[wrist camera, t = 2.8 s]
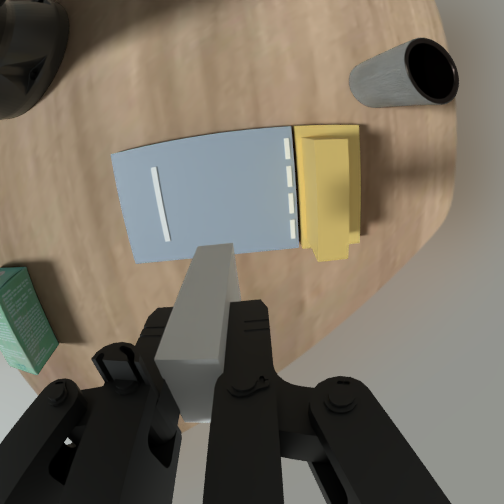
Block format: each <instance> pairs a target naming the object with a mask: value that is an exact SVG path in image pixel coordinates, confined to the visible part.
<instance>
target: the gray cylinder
mask: <svg viewBox="0 0 504 504" xmlns="http://www.w3.org/2000/svg"><path fill="white" fill-rule="evenodd" d="M349 85H350V89H351V92H352V93H353V95H354V97H355V98H356V99H357V100H358V101H359V102H360V103H362V104H363V105H365V106H368V107H372V108H381V107H393V106H410V105H442V104H446V103H449V102H450V101H452V100H453V98H454V97H455V96H456V94H457V91H458V87H459V77H458V72H457V68H456V66H455V63H454V61H453V59H452V58H451V56H450V55H449V53H448V52H447V51H446V50H445V49H444V48H443V47H442V46H441V45H439V44H438V43H437V42H435V41H433V40H430V39H427V38H416V39H413V40H411V41H408V42H406V43H404V44H401V45H399V46H397V47H394V48H392V49H390V50H388V51H385V52H383V53H381V54H379V55H377V56H375V57H373V58H370V59H368V60H366V61H364V62H362V63H360V64H359V65H357V66H356V67H355V68H354V69H353V70H352V71H351V73H350V77H349Z"/></svg>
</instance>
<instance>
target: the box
mask: <svg viewBox="0 0 504 504" xmlns="http://www.w3.org/2000/svg"><path fill="white" fill-rule="evenodd" d="M58 345H59V343H58V341H57V339H56V337H55V335H54V333H53V331H52V329H51V327H50V325H49V322H48V320H47V318H46V316H45V314H44V311H43V309H42V307H41V305H40V302H39V300H38V297H37V295H36V292H35V290H34V287H33V285H32V282H31V279H30V276H29V274H28V271H27V267H12V268H0V350H1V352H2V353H3V355H4V357H5V359H6V360H7V362H8V364H9V365H10V366H12V367H14V368H17V369H20V370H23V371H26V372H29V373H32V374H35V375H38V374H39V372H40V371H41V369H42V368H43V366H44V365H45V363H46V362H47V361H48V359H49V358H50V356H51V355H52V353H53V352H54V351H55V349H56V348H57V346H58Z"/></svg>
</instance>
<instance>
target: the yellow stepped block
mask: <svg viewBox="0 0 504 504" xmlns="http://www.w3.org/2000/svg"><path fill="white" fill-rule="evenodd" d="M293 132H294V144H295V156H296V170H297V185H298V201H299V221H300V244H301V246H302V248H303V249H304V248H312V250H313V252H314V254H315V256H316V258H317V260H318V262H322V261H331V260H340V259H348V248H349V244H354V243H359V240H360V213H361V166H360V139H359V125H308V126H293Z"/></svg>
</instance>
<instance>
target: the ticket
mask: <svg viewBox="0 0 504 504" xmlns="http://www.w3.org/2000/svg"><path fill="white" fill-rule="evenodd" d="M111 159H112V165H113V170H114V175H115V181H116V186H117V190H118V195H119V200H120V204H121V209H122V213H123V217H124V221H125V226H126V230H127V233H128V237H129V241H130V245H131V249H132V252H133V256H134V259H135V263H136V264H139V263H149V262H159V261H169V260H179V259H189V258H193V257H194V254H195V252H196V249H197V247H198V246H206V245H216V244H226V243H233V247H234V254H240V253H250V252H260V251H270V250H280V249H290V248H299V237H298V216H297V198H296V182H295V168H294V155H293V143H292V131H291V126H287V127H273V128H261V129H250V130H241V131H232V132H224V133H216V134H209V135H203V136H196V137H190V138H184V139H179V140H173V141H168V142H163V143H158V144H153V145H148V146H144V147H139V148H135V149H131V150H127V151H122V152H119V153H115V154H111Z"/></svg>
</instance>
